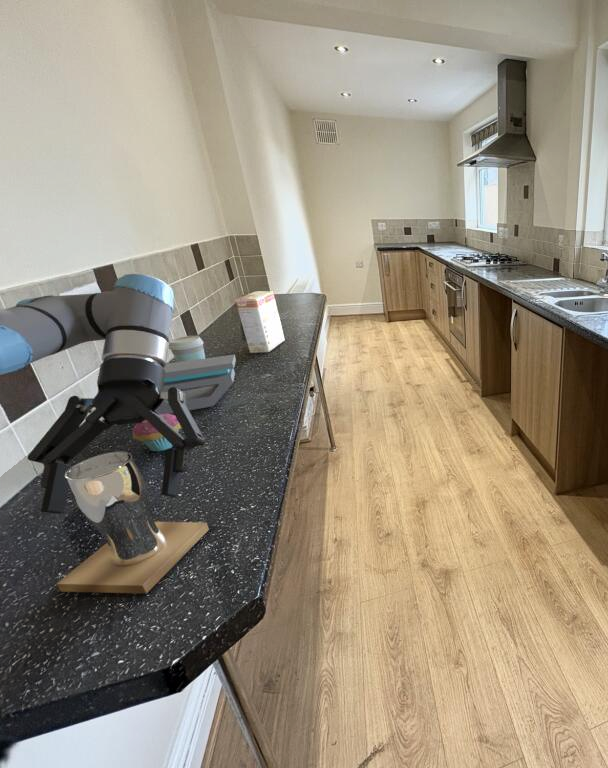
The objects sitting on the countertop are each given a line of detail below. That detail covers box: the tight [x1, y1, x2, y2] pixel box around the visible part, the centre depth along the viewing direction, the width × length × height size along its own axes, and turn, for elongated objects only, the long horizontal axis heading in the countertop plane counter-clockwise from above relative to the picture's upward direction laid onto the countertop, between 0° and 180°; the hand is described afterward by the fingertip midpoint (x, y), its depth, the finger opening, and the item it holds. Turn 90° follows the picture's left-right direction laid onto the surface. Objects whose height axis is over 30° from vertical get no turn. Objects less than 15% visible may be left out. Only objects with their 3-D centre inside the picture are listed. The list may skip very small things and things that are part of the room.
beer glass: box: [65, 451, 166, 566], centre depth 57 cm, size 7×7×15 cm
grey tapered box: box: [156, 354, 237, 415], centre depth 106 cm, size 25×8×11 cm, turn 118°
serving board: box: [56, 521, 210, 594], centre depth 61 cm, size 12×12×2 cm
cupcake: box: [131, 413, 182, 452], centre depth 88 cm, size 9×8×12 cm
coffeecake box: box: [234, 290, 286, 354], centre depth 151 cm, size 15×7×20 cm, turn 6°
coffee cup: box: [168, 335, 206, 362], centre depth 125 cm, size 9×8×12 cm
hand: (113, 504), depth 57 cm, fingers open, 13 cm apart
